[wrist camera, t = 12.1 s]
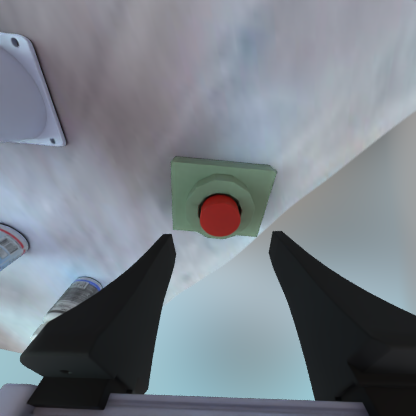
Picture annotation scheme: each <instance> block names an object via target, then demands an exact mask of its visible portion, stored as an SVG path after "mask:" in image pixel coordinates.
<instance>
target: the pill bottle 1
mask: <svg viewBox="0 0 416 416" xmlns="http://www.w3.org/2000/svg"><path fill="white" fill-rule="evenodd" d="M27 250H28V243H27V241H26V239H25V238H24V237H23V236H22V235H21V234H20V233H19V232H17V231H16V230H14V229H12V228H10V227H8V226H5V225H2V224H0V271H1V270H3V269H4V268H5V267H7V266H8V265H9V264H11V263H12V262H13V261H15V260H16V259H18V258H19V257H20V256H22V255H23V254H24V253H25V252H26V251H27Z"/></svg>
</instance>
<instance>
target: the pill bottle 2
mask: <svg viewBox="0 0 416 416" xmlns="http://www.w3.org/2000/svg"><path fill="white" fill-rule="evenodd" d="M100 290H102V286H101V285H100V284H99V283H98V282H97V281H95V280H93V279H91V278H87V277H81V278H78V279H76V280H75V281H74V282H73V283H72V284H71V286H70V287H69V288H68V289H67V290H66V291H65V293H64V294H63V295H62V296H61V297H60V299H59V300H58V301H57V302H56V303H55V304H54V306H53V307H52V308H51V309H50V310H49V311H48V313H47V314H46V315H45V316H44V318H43V324H41V325H40V327H38V329H37V330H36V331H35V332H34V333H33V335H32V336H31V340H32V341H33V340H34V339H35V337H36V336H37V335H38V334H39V332H40V331H41V330H42V329H43V327H44V326H45V325H46V324H47V323H48V322H49V321H51V320H52V319H54V318H56V317H58V316H59V315H61V314H63V313H65V312H66V311H68V310H70V309H72V308H74V307H75V306H77V305H78V304H80V303H82V302H83V301H85V300H87V299H88V298H90V297H91V296H93V295H94V294H96V293H97V292H99V291H100Z"/></svg>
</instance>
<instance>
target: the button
mask: <svg viewBox="0 0 416 416" xmlns="http://www.w3.org/2000/svg"><path fill="white" fill-rule="evenodd" d="M240 221H241V218H240V214H239V210H238V206H237V204H236V202H235V201H234V200H233V199H232V198H231V197H229V196H226V195H214V196H211V197H209V198H208V199H206V200H205V201H204V203H203V205H202V207H201V214H200V224H201V227H202V228H203V230H204V231H205V232H206V233H208V234H210V235H212V236H217V237H223V236H228V235H230V234H232V233H233V232H235V231H236V230H237V228H238V227H239V225H240Z"/></svg>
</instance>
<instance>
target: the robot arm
mask: <svg viewBox="0 0 416 416" xmlns="http://www.w3.org/2000/svg"><path fill="white" fill-rule="evenodd" d="M17 41H18V43H19V47H18V45H17ZM54 140H55V141H56V143H55V142H54ZM1 142H15V143H26V144H36V145H47V146H58V147H62V146H65V145H66V140H65V137H64V135H63V132H62V129H61V126H60V123H59V120H58V117H57V114H56V111H55V108H54V106H53V103H52V100H51V97H50V94H49V91H48V88H47V85H46V82H45V79H44V77H43V74H42V71H41V68H40V65H39V62H38V59H37V56H36V53H35V50H34V48H33V45H32V43H31V41H30V40H29V39H28V38H27V37H25V36H22V35H20V34H12V33H2V32H0V143H1ZM269 255H270V259H271V262H272V265H273V268H274V271H275V273H276V276H277V278H278V280H279V282H280V285H281V287H282V290H283V292H284V294H285V297H286V299H287V302H288V305H289V308H290V310H291V314H292V317H293V320H294V323H295V327H296V330H297V333H298V337H299V340H300V344H301V347H302V351H303V355H304V358H305V361H306V365H307V370H308V373H309V378H310V381H311V385H312V390H313V394H314V398H315V401H310V400H282V399H254V398H227V397H226V398H225V397H200V396H172V395H144V393H145V392H146V391H147V390H148V386H149V378H150V372H151V365H152V358H153V353H154V347H155V341H156V336H157V330H158V325H159V320H160V315H161V310H162V306H163V302H164V298H165V295H166V291H167V288H168V285H169V282H170V278H171V275H172V272H173V268H174V263H175V258H176V252H175V247H174V243H173V238H172V234H163V235H162V236H161V237H160V238H159V239H158V240H157V241H156V242H155V243H154V245H153V246H152V247H151V248H150V249H149V250H148V251H147V252H146V253H145V254H144V255H143V256H142V257H141V258H140V259H139V260H138V261H137V262H136V263H135V264H133V265H132V266H131V267H130V268H129V269H128V270H127V271H125V272H124V273H123V274H122V275H120V276H119V277H118V278H117V279H115V280H114V281H113V282H111V283H110V284H109V285H107V286H106V287H104V288H103V289H102V290H100V291H99V292H97V293H96V294H94V295H93V296H91V297H90V298H88V299H87V300H85V301H83V302H82V303H80V304H78V305H77V306H75V307H74V308H72V309H70V310H68V311H66V312H65V313H63V314H61V315H59V316H58V317H56V318H54V319H52V320H51V321H49V322H48V323H47V324H46V325H45V326H44V327H43V329H42V330H41V331H40V332H39V334H38V335H37V336H36V337H35V339H34V340H33V341H32V342H31V343H30V345H29V346H28V347H27V348H26V350H25V351H24V352H23V353H22V355H21V356H20V362H21V363H22V364H23V365H24V366H26V367H27V368H29V369H31V370H33V371H34V372H36V373H38V374H40V375H41V376H43V379H42V380H41V382H40V383H39V385H38V386H35V385H31V384H5V385H3V386H2V388H1V389H0V416H416V316H415V315H413V314H411V313H409V312H407V311H405V310H403V309H400V308H398V307H396V306H394V305H392V304H390V303H388V302H386V301H384V300H382V299H381V298H379V297H376V296H374V295H373V294H371V293H369V292H367V291H365V290H364V289H362V288H360V287H358V286H357V285H355V284H353V283H352V282H350V281H348V280H346V279H345V278H343V277H341V276H340V275H339V274H337V273H335V272H334V271H332V270H331V269H329V268H328V267H326V266H325V265H323V264H322V263H321V262H319V261H318V260H317V259H315V258H314V257H313V256H311V255H310V254H308V253H307V252H306V251H305V250H304V249H302V248H301V247H300V246H299V245H298V244H296V243H295V242H294V241H293V240H292V239H290V238H289V237H288V236H287V235H286V234H285V233H283V232H282V231H273V232H272V238H271V244H270V249H269Z"/></svg>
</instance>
